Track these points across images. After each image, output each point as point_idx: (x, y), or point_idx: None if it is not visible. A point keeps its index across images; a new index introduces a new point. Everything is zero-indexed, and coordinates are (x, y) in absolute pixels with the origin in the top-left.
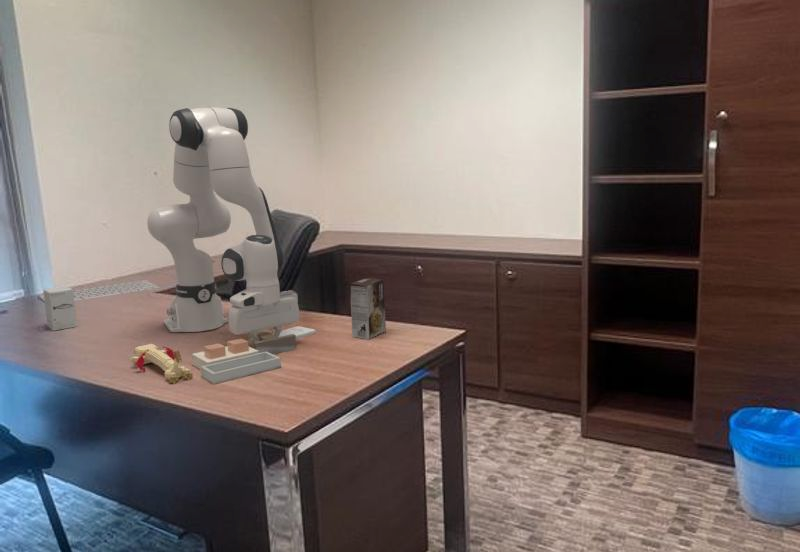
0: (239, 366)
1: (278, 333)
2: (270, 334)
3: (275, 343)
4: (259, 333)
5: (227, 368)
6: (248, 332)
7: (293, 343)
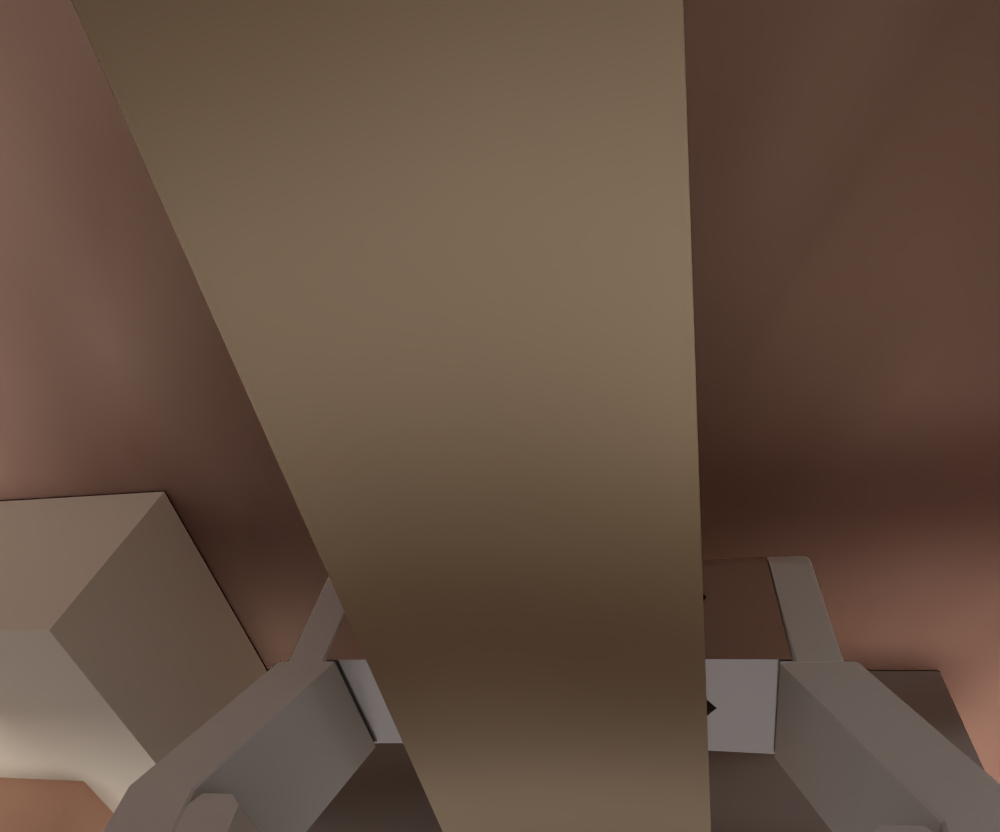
0: None
1: (846, 818)
2: (659, 754)
3: None
4: (445, 544)
5: None
6: (117, 37)
7: None
